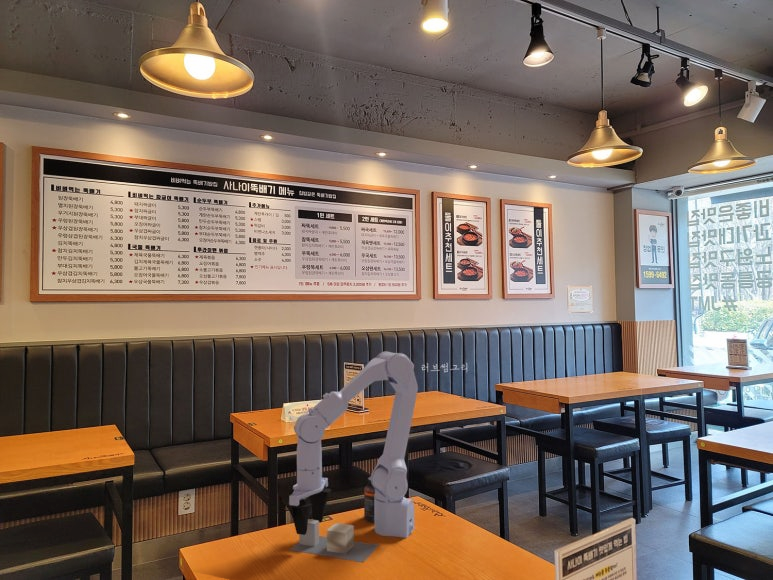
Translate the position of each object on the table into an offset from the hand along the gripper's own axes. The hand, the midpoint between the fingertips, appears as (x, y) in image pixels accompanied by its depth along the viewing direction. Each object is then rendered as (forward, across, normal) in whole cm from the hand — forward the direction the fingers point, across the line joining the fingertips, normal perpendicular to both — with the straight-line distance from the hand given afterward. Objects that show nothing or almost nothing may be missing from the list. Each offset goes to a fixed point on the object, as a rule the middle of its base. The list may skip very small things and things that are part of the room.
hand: (309, 527), depth 121 cm
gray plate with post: (+5, 0, +6) cm, 8 cm away
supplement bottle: (+5, -19, +8) cm, 22 cm away
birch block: (+4, 0, +8) cm, 9 cm away
